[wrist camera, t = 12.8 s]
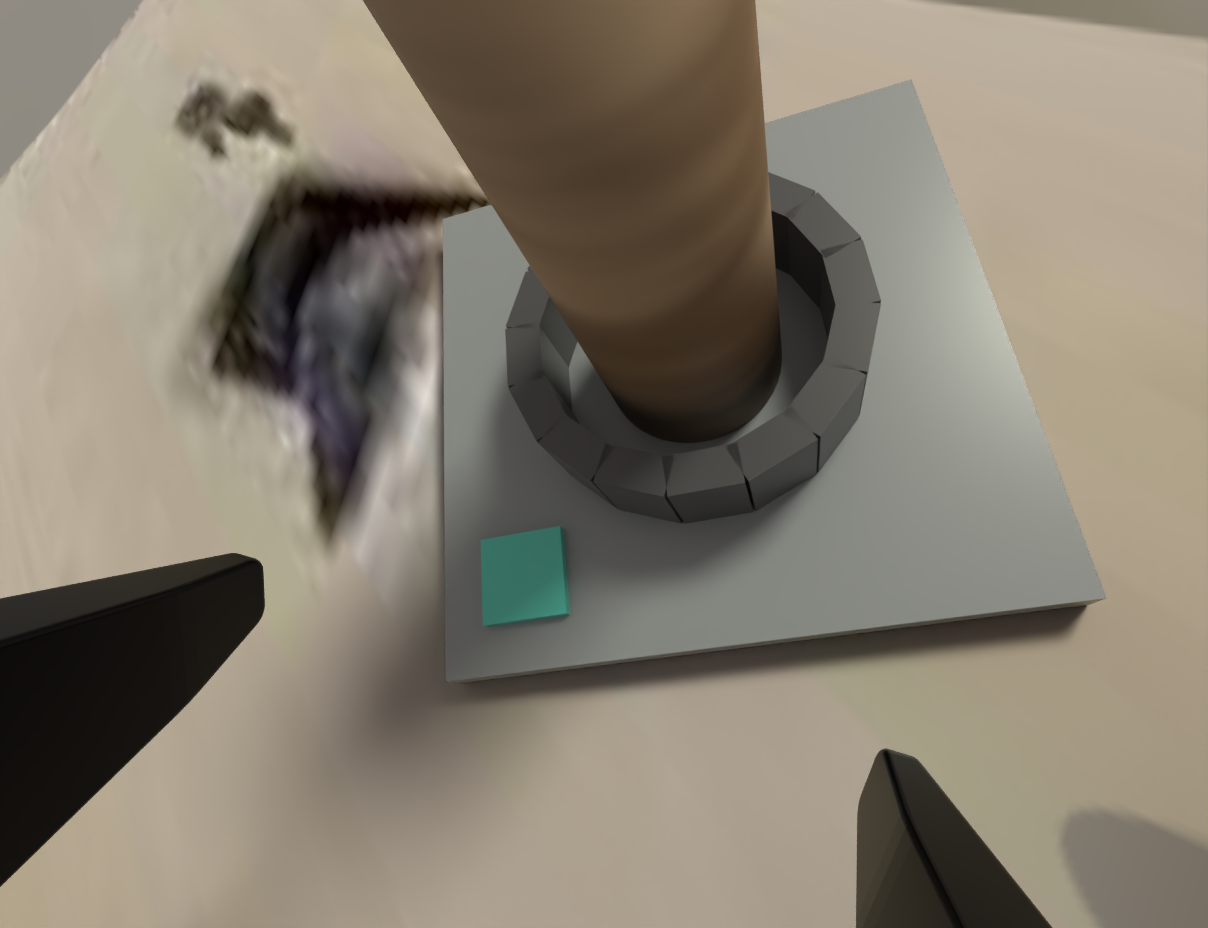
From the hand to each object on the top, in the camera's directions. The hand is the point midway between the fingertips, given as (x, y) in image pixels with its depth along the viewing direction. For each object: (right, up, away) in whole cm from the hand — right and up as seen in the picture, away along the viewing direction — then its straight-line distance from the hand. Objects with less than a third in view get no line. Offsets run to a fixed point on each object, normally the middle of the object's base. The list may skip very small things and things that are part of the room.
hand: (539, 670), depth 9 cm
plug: (+3, +6, +10) cm, 12 cm away
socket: (+4, +5, +11) cm, 13 cm away
